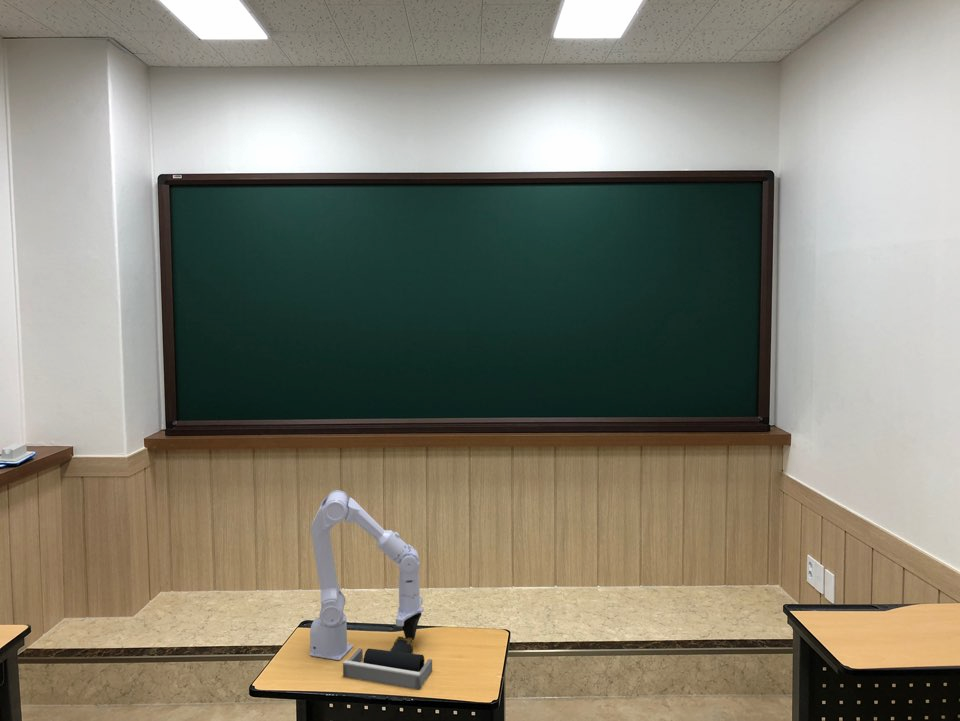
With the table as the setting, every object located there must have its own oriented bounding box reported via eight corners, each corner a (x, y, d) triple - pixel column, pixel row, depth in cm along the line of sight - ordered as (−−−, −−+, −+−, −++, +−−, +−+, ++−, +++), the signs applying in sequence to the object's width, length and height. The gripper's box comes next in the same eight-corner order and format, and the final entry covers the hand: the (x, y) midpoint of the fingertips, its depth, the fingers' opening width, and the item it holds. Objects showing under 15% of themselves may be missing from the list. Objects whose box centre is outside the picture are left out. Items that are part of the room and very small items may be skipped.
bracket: (343, 676, 171) (342, 662, 171) (359, 658, 180) (359, 644, 180) (419, 689, 165) (418, 674, 165) (432, 670, 174) (432, 656, 174)
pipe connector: (379, 632, 184) (431, 637, 181) (380, 650, 185) (432, 656, 182) (362, 654, 173) (417, 660, 170) (363, 673, 174) (418, 680, 170)
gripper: (412, 605, 177) (413, 654, 179) (432, 583, 191) (432, 628, 192) (388, 602, 179) (389, 650, 181) (409, 580, 193) (410, 625, 194)
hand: (410, 639), depth 187 cm, fingers closed
